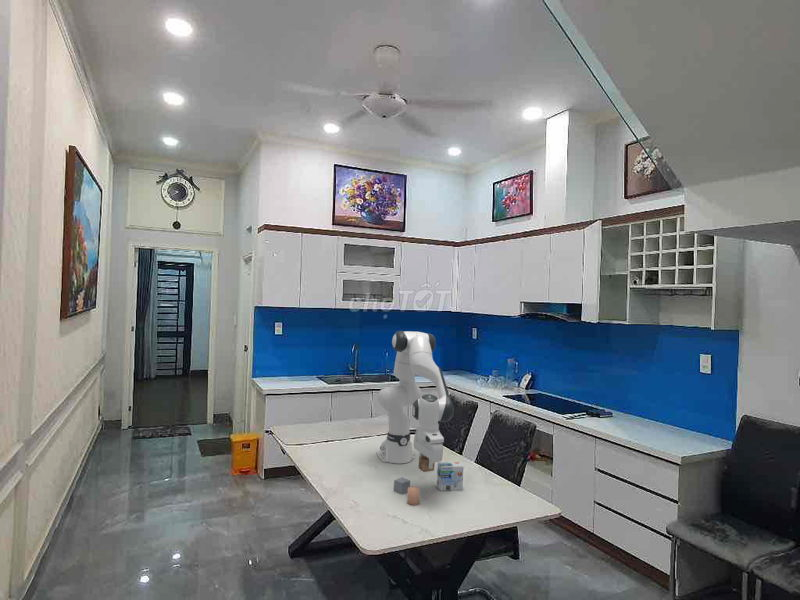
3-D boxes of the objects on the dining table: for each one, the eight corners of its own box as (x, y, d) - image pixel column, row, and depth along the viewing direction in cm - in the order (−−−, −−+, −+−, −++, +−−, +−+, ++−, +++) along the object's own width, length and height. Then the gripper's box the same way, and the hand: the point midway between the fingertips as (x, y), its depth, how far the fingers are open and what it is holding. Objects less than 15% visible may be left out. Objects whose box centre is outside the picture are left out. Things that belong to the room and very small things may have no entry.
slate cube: (393, 491, 223) (394, 480, 223) (401, 488, 226) (402, 477, 226) (402, 494, 219) (402, 483, 219) (409, 491, 223) (410, 480, 223)
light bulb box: (440, 491, 224) (441, 467, 224) (436, 485, 231) (436, 462, 231) (463, 490, 226) (464, 466, 226) (458, 484, 233) (459, 461, 233)
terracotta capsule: (405, 501, 212) (405, 487, 212) (415, 499, 214) (416, 485, 214) (410, 506, 207) (411, 491, 207) (421, 504, 209) (421, 489, 209)
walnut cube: (418, 467, 218) (419, 456, 218) (428, 466, 220) (429, 455, 220) (423, 472, 214) (424, 460, 214) (434, 470, 216) (434, 459, 216)
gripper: (410, 427, 225) (409, 458, 225) (432, 441, 206) (431, 474, 206) (423, 426, 227) (421, 456, 228) (446, 439, 209) (444, 472, 209)
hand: (426, 465), depth 217 cm, fingers closed on walnut cube, 5 cm apart
